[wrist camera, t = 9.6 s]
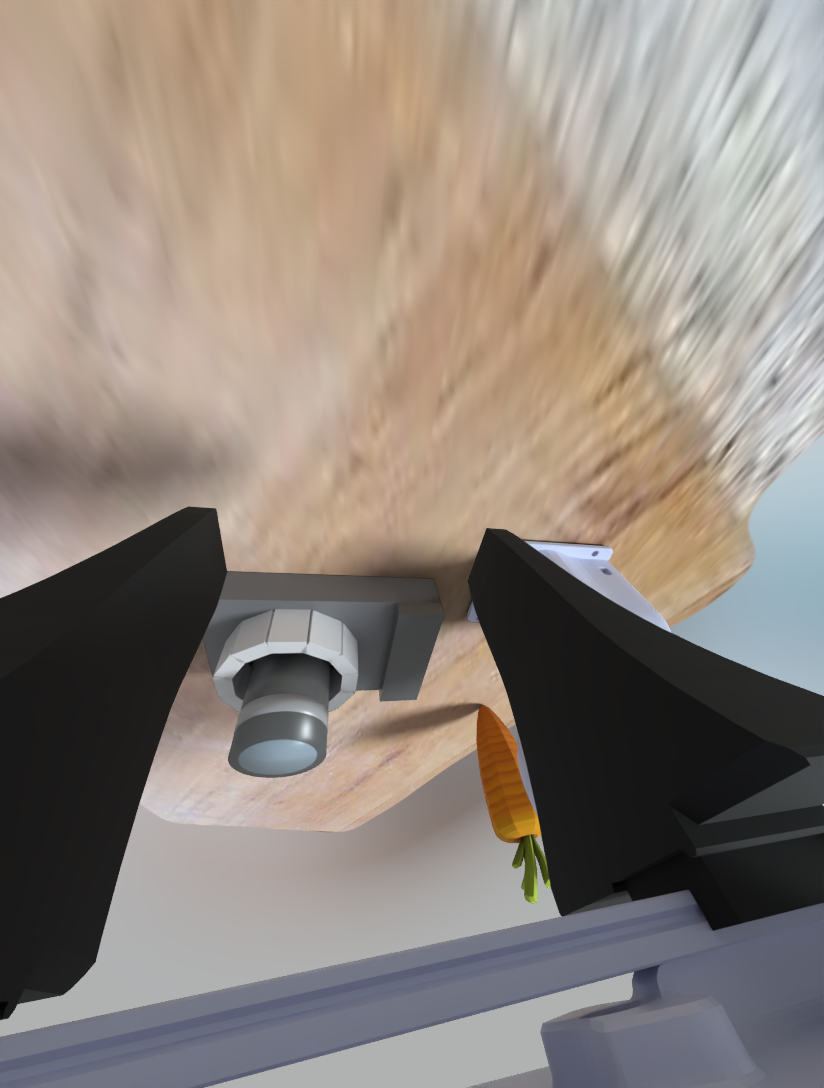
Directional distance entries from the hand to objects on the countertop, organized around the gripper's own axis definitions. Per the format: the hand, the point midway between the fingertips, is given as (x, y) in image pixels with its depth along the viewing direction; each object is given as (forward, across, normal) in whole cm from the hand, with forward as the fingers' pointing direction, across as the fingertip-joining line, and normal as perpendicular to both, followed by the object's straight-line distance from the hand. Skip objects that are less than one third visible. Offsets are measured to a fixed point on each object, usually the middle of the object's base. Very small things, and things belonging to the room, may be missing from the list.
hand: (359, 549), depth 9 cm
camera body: (+10, +1, +15) cm, 18 cm away
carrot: (+11, -16, +28) cm, 34 cm away
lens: (+8, +3, +15) cm, 17 cm away
